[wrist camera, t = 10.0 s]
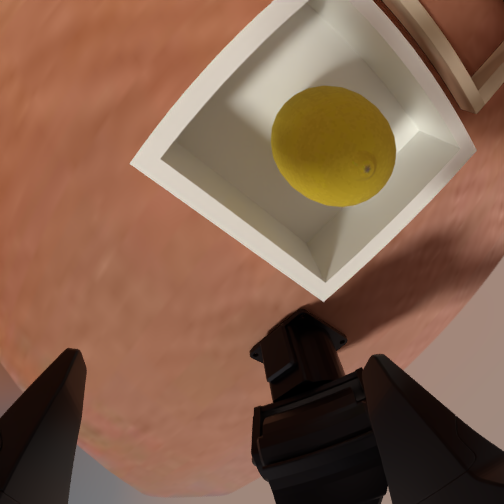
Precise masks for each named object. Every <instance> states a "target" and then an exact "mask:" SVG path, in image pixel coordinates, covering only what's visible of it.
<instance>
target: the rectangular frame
mask: <svg viewBox="0 0 504 504" xmlns="http://www.w3.org/2000/svg"><path fill="white" fill-rule="evenodd" d="M382 1H383V2H384V4H385V5H386V6H387V7H388V8H389V9H390V10H391V11H392V13H393V14H394V15H395V16H396V17H397V19H398V20H399V21H400V22H401V23H402V25H403V26H404V27H405V28H406V29H407V31H408V32H409V33H410V35H411V36H412V37H413V38H414V40H415V41H416V42H417V44H418V45H419V46H420V48H421V49H422V50H423V52H424V53H425V54H426V56H427V57H428V59H429V60H430V61H431V63H432V64H433V66H434V67H435V69H436V70H437V72H438V73H439V75H440V76H441V78H442V79H443V81H444V82H445V84H446V86H447V87H448V89H449V90H450V92H451V94H452V95H453V97H454V98H455V100H456V102H457V104H458V105H459V107H460V109H462V110H465V111H468V112H471V113H474V114H477V113H478V112H479V111H480V110H481V109H482V107H483V106H484V105H485V104H486V103H487V102H488V100H489V99H490V98H491V97H492V96H493V95H494V93H495V92H496V91H497V90H498V89H499V87H500V86H501V85H502V84H503V83H504V41H503V42H502V43H501V45H500V46H499V47H498V48H497V49H496V50H495V51H494V52H493V54H492V55H491V56H490V57H489V58H488V59H487V60H486V61H485V63H484V64H483V65H482V66H481V67H480V68H479V69H478V70H477V71H476V72H475V74H474V75H473V76H472V77H470V75H469V74H468V72H467V70H466V69H465V67H464V65H463V64H462V62H461V60H460V59H459V57H458V56H457V54H456V52H455V51H454V49H453V48H452V46H451V45H450V43H449V42H448V40H447V39H446V37H445V36H444V34H443V33H442V32H441V30H440V29H439V27H438V26H437V25H436V23H435V22H434V20H433V19H432V18H431V16H430V15H429V14H428V12H427V11H426V10H425V9H424V7H423V6H422V5H421V4H420V2H419V1H418V0H382ZM503 2H504V0H503Z"/></svg>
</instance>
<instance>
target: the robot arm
mask: <svg viewBox="0 0 504 504" xmlns="http://www.w3.org/2000/svg"><path fill="white" fill-rule="evenodd" d="M301 315H303V316H301ZM346 343H347V338H346V336H345V335H343V334H342V333H340V332H339V331H337V330H336V329H334V328H333V327H331V326H330V325H328V324H327V323H325V322H324V321H322V320H321V319H319V318H317V317H316V316H314V315H313V314H311V313H310V312H308V311H307V310H305V309H300V310H298V311H297V312H296V313H294V314H293V315H292V316H291V317H290V318H289V319H287V320H286V321H285V322H284V323H283V324H281V325H280V326H279V327H278V328H277V329H275V330H274V331H273V332H272V333H271V334H269V335H268V336H267V337H266V338H265V339H263V340H262V341H261V342H260V343H258V344H257V345H256V346H255V347H254V348H252V349H251V350H250V357H251V358H253V359H255V360H257V361H259V362H261V363H263V364H264V368H265V374H266V379H267V382H269V384H270V389H271V395H272V400H273V403H271V404H268V405H265V406H258V407H255V408H254V416H253V427H252V447H251V454H252V463H253V464H254V465H255V466H257V469H258V471H259V473H260V474H261V476H262V477H263V478H264V480H266V481H268V482H269V484H270V486H271V489H272V492H273V495H274V499H275V502H276V504H381V502H382V498H383V496H384V495H385V494H386V492H387V487H389V492H390V496H391V500H392V504H504V451H502V450H501V449H499V448H498V447H497V446H495V445H494V444H492V443H491V442H489V441H488V440H486V439H485V438H484V437H482V436H481V435H479V434H478V433H477V432H476V431H474V430H473V429H472V428H470V427H469V426H468V425H467V424H465V423H464V422H463V421H462V420H461V419H459V418H458V417H457V416H455V414H454V413H452V412H451V411H450V410H449V409H448V408H447V407H445V406H444V405H443V404H442V403H441V402H440V401H438V400H437V399H436V398H435V397H434V396H433V395H431V394H430V393H429V392H428V391H426V390H425V389H424V388H423V387H422V386H421V385H420V384H418V383H417V382H416V381H415V380H414V379H413V378H411V377H410V376H409V375H408V374H407V373H405V372H404V371H403V370H402V369H401V368H400V367H398V366H397V365H396V364H395V363H394V362H392V361H391V360H390V359H389V358H388V357H387V356H385V355H384V354H375V355H372V356H371V357H370V358H369V360H368V362H367V364H366V366H365V367H364V369H362V367H361V368H359V369H357V370H355V372H352V373H350V374H348V375H345V372H344V370H343V367H342V365H341V362H340V360H339V357H338V354H337V352H336V351H337V350H338V349H339V348H341V347H342V346H343V345H345V344H346ZM86 373H87V370H86V365H85V362H84V359H83V356H82V353H81V351H80V350H78V349H73V348H67V349H66V350H64V351H63V352H62V353H61V354H60V355H59V356H58V358H57V359H56V360H55V361H54V362H53V363H52V364H51V365H50V366H49V367H48V368H47V369H46V370H45V371H44V372H43V373H42V374H41V375H40V376H39V377H38V378H37V379H36V380H35V381H34V382H33V383H32V384H31V385H30V386H29V387H28V388H27V390H26V391H25V392H24V393H23V394H22V395H21V396H20V397H19V398H18V399H17V400H16V401H15V402H14V404H13V405H12V406H11V407H10V408H9V409H8V410H7V411H6V412H5V413H4V415H3V416H2V417H1V418H0V504H68V498H69V490H70V482H71V475H72V468H73V461H74V456H75V449H76V445H77V439H78V434H79V429H80V424H81V418H82V410H83V400H84V390H85V382H86Z"/></svg>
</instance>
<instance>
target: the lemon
mask: <svg viewBox="0 0 504 504" xmlns="http://www.w3.org/2000/svg"><path fill="white" fill-rule="evenodd" d="M271 148H272V153H273V158H274V160H275V163H276V165H277V167H278V169H279V171H280V173H281V174H282V176H283V177H284V178H285V179H286V180H287V182H288V183H289V184H290V185H291V186H292V187H293V188H294V189H295V190H297V191H298V192H300V193H301V194H302V195H304V196H305V197H307V198H308V199H311V200H313V201H316V202H318V203H321V204H324V205H327V206H337V207H346V206H354V205H357V204H359V203H362V202H365V201H367V200H369V199H370V198H372V197H373V196H375V195H376V194H378V192H379V191H380V190H381V189H382V188H383V187H384V186H385V185H386V183H387V182H388V180H389V178H390V177H391V175H392V172H393V169H394V166H395V160H396V144H395V137H394V134H393V132H392V130H391V127H390V125H389V122H388V121H387V119H386V118H385V117H384V115H383V114H382V113H381V112H380V110H379V109H378V108H377V107H376V106H375V105H374V104H373V103H371V102H370V101H369V100H367V99H366V98H365V97H363V96H362V95H360V94H359V93H356V92H354V91H351V90H348V89H346V88H343V87H336V86H318V87H312V88H308V89H306V90H304V91H301V92H299V93H297V94H295V95H294V96H293V97H291V98H290V99H289V100H288V101H287V102H286V103H284V105H283V106H282V108H281V109H280V110H279V112H278V113H277V115H276V117H275V120H274V123H273V126H272V132H271Z"/></svg>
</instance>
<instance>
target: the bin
mask: <svg viewBox="0 0 504 504" xmlns="http://www.w3.org/2000/svg"><path fill="white" fill-rule="evenodd" d="M318 86H336V87H343V88H346V89H348V90H351V91H354V92H356V93H359V94H360V95H362V96H363V97H365V98H366V99H367V100H369V101H370V102H371V103H373V104H374V105H375V106H376V107H377V108H378V109H379V110H380V112H381V113H382V114H383V115H384V117H385V118H386V119H387V121H388V122H389V125H390V127H391V130H392V132H393V134H394V137H395V144H396V160H395V166H394V169H393V172H392V175H391V177H390V178H389V180H388V182H387V183H386V185H385V186H384V187H383V188H382V189H381V190H380V191H379V192H378V194H376V195H375V196H373V197H372V198H370V199H369V200H367V201H365V202H362V203H359V204H357V205H354V206H346V207H337V206H327V205H324V204H321V203H318V202H316V201H313V200H311V199H308V198H307V197H305V196H304V195H302V194H301V193H300V192H298V191H297V190H295V189H294V188H293V187H292V186H291V185H290V184H289V183H288V182H287V180H286V179H285V178H284V177H283V176H282V174H281V173H280V171H279V169H278V167H277V165H276V163H275V160H274V158H273V153H272V148H271V132H272V126H273V123H274V120H275V117H276V115H277V113H278V112H279V110H280V109H281V108H282V106H283V105H284V103H286V102H287V101H288V100H289V99H290V98H291V97H293V96H294V95H295V94H297V93H299V92H301V91H304V90H306V89H308V88H312V87H318ZM476 151H477V150H476V148H475V146H474V144H473V142H472V140H471V138H470V136H469V135H468V133H467V131H466V129H465V127H464V125H463V124H462V122H461V120H460V118H459V117H458V115H457V113H456V111H455V110H454V108H453V106H452V105H451V103H450V101H449V100H448V98H447V97H446V95H445V93H444V92H443V90H442V89H441V87H440V86H439V84H438V83H437V81H436V80H435V78H434V77H433V75H432V74H431V72H430V71H429V69H428V68H427V67H426V65H425V64H424V62H423V61H422V60H421V58H420V57H419V55H418V54H417V53H416V51H415V50H414V49H413V47H412V46H411V45H410V44H409V42H408V41H407V40H406V38H405V37H404V36H403V35H402V33H401V32H400V31H399V30H398V29H397V27H396V26H395V25H394V24H393V23H392V21H391V20H390V19H389V18H388V17H387V16H386V15H385V13H384V12H383V11H382V10H381V9H380V8H379V7H378V6H377V5H376V3H375V2H374V1H373V0H274V1H273V2H272V3H271V4H269V5H268V6H267V7H266V8H265V9H264V10H263V11H262V12H261V13H260V14H259V15H257V16H256V17H255V18H254V19H253V20H252V21H251V22H250V23H249V24H248V25H247V26H246V27H245V28H244V29H243V30H242V31H241V32H240V33H239V34H238V35H237V36H236V37H235V38H234V39H233V40H232V41H231V42H230V43H229V44H228V45H227V46H226V47H225V48H224V49H223V50H222V51H221V52H220V53H219V54H218V55H217V56H216V57H215V59H214V60H213V61H212V62H211V63H210V64H209V65H208V66H207V67H206V68H205V69H204V71H203V72H202V73H201V74H200V75H199V76H198V77H197V78H196V80H195V81H194V82H193V83H192V84H191V85H190V86H189V88H188V89H187V90H186V91H185V92H184V94H183V95H182V96H181V97H180V98H179V99H178V101H177V102H176V103H175V104H174V106H173V107H172V108H171V109H170V111H169V112H168V113H167V114H166V116H165V117H164V118H163V119H162V121H161V122H160V123H159V124H158V126H157V127H156V128H155V130H154V131H153V132H152V134H151V135H150V136H149V138H148V139H147V140H146V142H145V143H144V144H143V146H142V147H141V148H140V150H139V151H138V153H137V154H136V155H135V157H134V158H133V160H132V161H131V162H130V164H131V165H132V166H134V167H135V168H136V169H138V170H139V171H141V172H142V173H144V174H145V175H146V176H148V177H149V178H151V179H152V180H153V181H155V182H156V183H158V184H159V185H160V186H162V187H163V188H165V189H166V190H167V191H169V192H170V193H172V194H173V195H174V196H176V197H177V198H179V199H180V200H181V201H183V202H184V203H186V204H187V205H188V206H190V207H191V208H193V209H194V210H195V211H197V212H198V213H200V214H201V215H202V216H204V217H205V218H207V219H208V220H209V221H211V222H212V223H214V224H215V225H216V226H218V227H219V228H221V229H222V230H223V231H225V232H226V233H228V234H229V235H230V236H232V237H233V238H235V239H236V240H237V241H239V242H240V243H242V244H243V245H244V246H246V247H247V248H249V249H250V250H251V251H253V252H254V253H256V254H257V255H258V256H260V257H261V258H263V259H264V260H265V261H267V262H268V263H270V264H271V265H272V266H274V267H275V268H277V269H278V270H279V271H281V272H282V273H284V274H285V275H286V276H288V277H289V278H291V279H292V280H293V281H295V282H296V283H298V284H299V285H300V286H302V287H303V288H305V289H306V290H307V291H309V292H310V293H312V294H313V295H314V296H316V297H317V298H319V299H320V300H321V301H323V302H324V301H325V300H326V299H327V298H329V297H330V296H331V295H332V294H333V293H334V292H335V291H337V290H338V289H339V288H340V287H341V286H342V285H343V284H345V283H346V282H347V281H348V280H349V279H350V278H351V277H352V276H353V275H354V274H356V273H357V272H358V271H359V270H360V269H361V268H362V267H363V266H364V265H365V264H366V263H368V262H369V261H370V260H371V259H372V258H373V257H374V256H375V255H376V254H377V253H378V252H379V251H380V250H381V249H382V248H384V247H385V246H386V245H387V244H388V243H389V242H390V241H391V240H392V239H393V238H394V237H395V236H396V235H397V234H398V233H399V232H400V231H401V230H402V229H403V228H404V227H405V226H406V225H407V224H408V223H409V222H410V221H411V220H412V219H413V218H414V217H415V216H416V215H417V214H418V213H419V212H420V211H421V210H422V209H423V208H424V207H425V206H426V205H427V204H428V203H429V202H430V201H431V200H432V199H433V198H434V197H435V196H436V195H437V194H438V192H439V191H440V190H441V189H442V188H443V187H444V186H445V185H446V184H447V183H448V182H449V181H450V180H451V179H452V178H453V176H454V175H455V174H456V173H457V172H458V171H459V170H460V169H461V168H462V167H463V165H464V164H465V163H466V162H467V161H468V160H469V159H470V158H471V156H472V155H473V154H474V153H475V152H476Z"/></svg>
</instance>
